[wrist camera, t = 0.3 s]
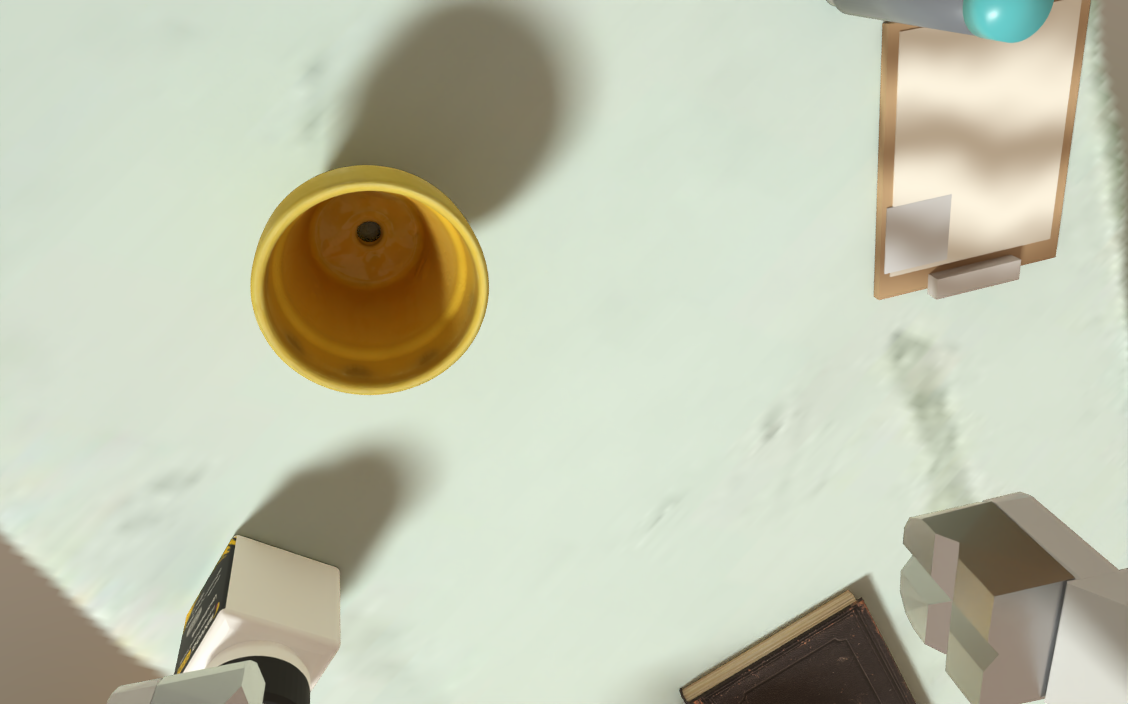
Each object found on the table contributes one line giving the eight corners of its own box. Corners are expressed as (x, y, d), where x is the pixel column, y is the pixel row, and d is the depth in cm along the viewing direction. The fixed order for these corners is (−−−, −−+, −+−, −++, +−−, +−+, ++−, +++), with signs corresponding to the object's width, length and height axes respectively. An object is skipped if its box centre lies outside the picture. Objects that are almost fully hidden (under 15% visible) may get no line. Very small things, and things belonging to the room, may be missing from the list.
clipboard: (882, 23, 49) (898, 26, 47) (1084, -16, 50) (1106, -14, 49) (873, 302, 57) (887, 311, 55) (1048, 259, 59) (1065, 267, 57)
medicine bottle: (234, 530, 53) (210, 680, 42) (341, 566, 56) (343, 714, 45) (185, 615, 55) (150, 778, 44) (291, 646, 58) (282, 805, 47)
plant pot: (375, 89, 44) (385, 129, 35) (499, 238, 49) (534, 304, 40) (221, 217, 45) (195, 285, 36) (358, 350, 50) (364, 438, 41)
